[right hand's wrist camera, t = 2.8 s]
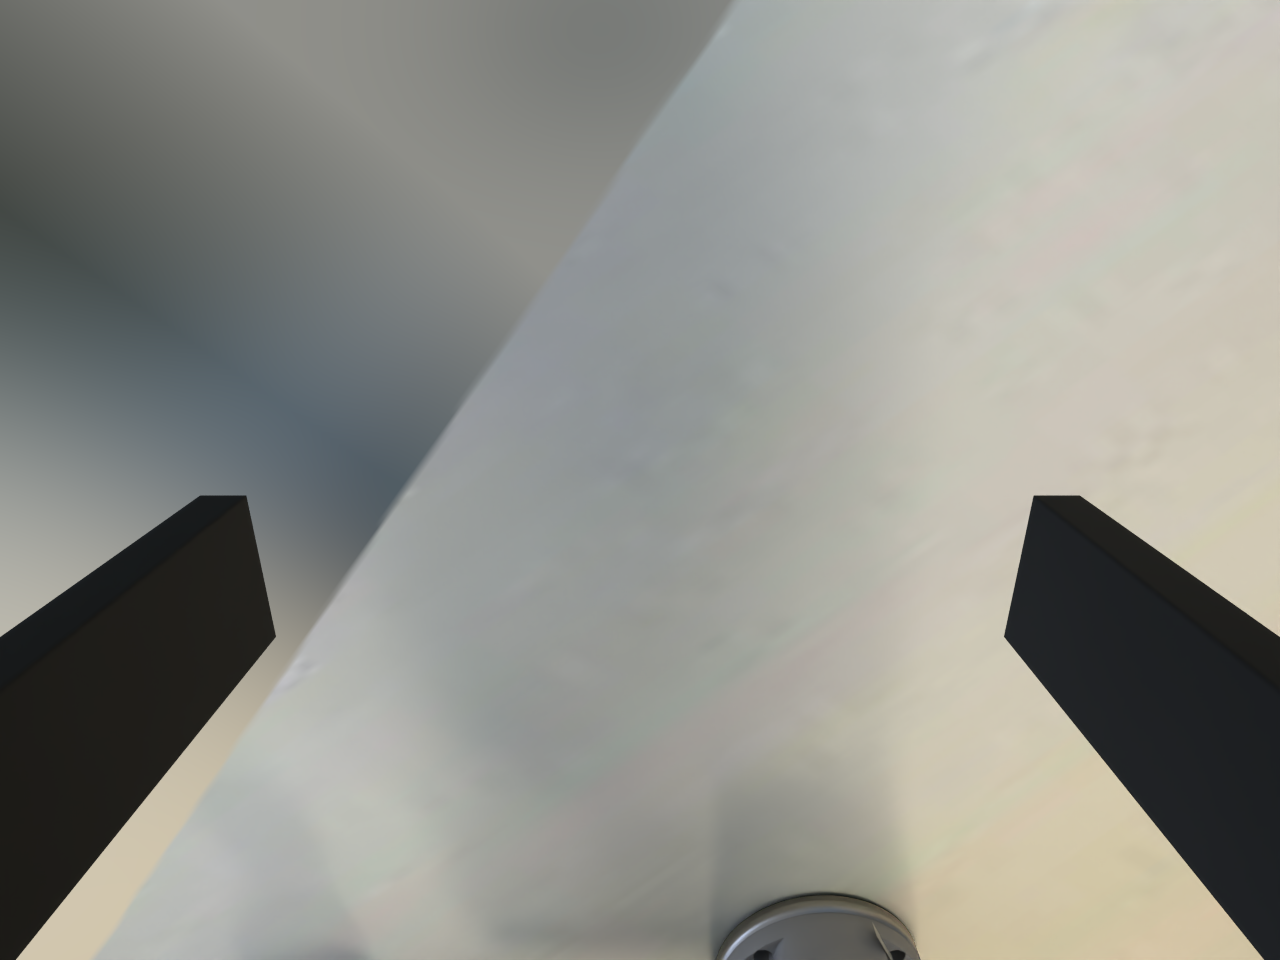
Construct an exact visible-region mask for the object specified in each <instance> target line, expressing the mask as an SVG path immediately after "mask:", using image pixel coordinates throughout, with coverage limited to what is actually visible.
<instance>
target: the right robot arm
mask: <svg viewBox="0 0 1280 960" xmlns="http://www.w3.org/2000/svg"><path fill="white" fill-rule="evenodd" d="M275 637H276V635H275V630H274V625H273V621H272V616H271V611H270V606H269V601H268V597H267V592H266V587H265V582H264V578H263V573H262V568H261V563H260V559H259V554H258V549H257V544H256V540H255V535H254V530H253V525H252V521H251V516H250V511H249V506H248V502H247V497H246V496H199V497H198V498H196V499H195V500H193V501H192V502H191V503H189V504H188V505H186V506H185V507H183V508H182V509H181V510H179V511H178V512H176V513H175V514H174V515H172V516H171V517H169V518H168V519H167V520H165V521H164V522H162V523H161V524H159V525H158V526H157V527H155V528H154V529H152V530H151V531H150V532H148V533H147V534H145V535H144V536H142V537H141V538H140V539H138V540H137V541H135V542H134V543H133V544H131V545H130V546H128V547H127V548H126V549H124V550H123V551H121V552H120V553H119V554H117V555H116V556H114V557H113V558H111V559H110V560H109V561H107V562H106V563H104V564H103V565H102V566H100V567H99V568H97V569H96V570H94V571H93V572H92V573H90V574H89V575H87V576H86V577H84V578H83V579H82V580H80V581H79V582H77V583H76V584H75V585H73V586H72V587H70V588H69V589H68V590H66V591H65V592H63V593H62V594H61V595H59V596H58V597H56V598H55V599H53V600H52V601H51V602H49V603H48V604H46V605H45V606H44V607H42V608H41V609H39V610H38V611H36V612H35V613H34V614H32V615H31V616H29V617H28V618H27V619H25V620H24V621H22V622H21V623H19V624H18V625H17V626H15V627H14V628H13V629H11V630H10V631H8V632H7V633H5V634H4V635H3V636H1V637H0V960H16V959H17V958H18V956H19V955H20V954H21V953H22V951H23V950H24V949H25V948H26V946H27V945H28V944H29V943H30V941H31V940H32V939H33V938H34V936H35V935H36V934H37V933H38V931H39V930H40V929H41V928H42V926H43V925H44V924H45V923H46V921H47V920H48V919H49V918H50V916H51V915H52V914H53V913H54V912H55V910H56V909H57V908H58V907H59V905H60V904H61V903H62V902H63V900H64V899H65V898H66V897H67V895H68V894H69V893H70V892H71V890H72V889H73V888H74V887H75V885H76V884H77V883H78V882H79V881H80V879H81V878H82V877H83V876H84V874H85V873H86V872H87V871H88V869H89V868H90V867H91V866H92V864H93V863H94V862H95V861H96V859H97V858H98V857H99V856H100V854H101V853H102V852H103V851H104V849H105V848H106V847H107V846H108V845H109V843H110V842H111V841H112V840H113V838H114V837H115V836H116V835H117V833H118V832H119V831H120V830H121V828H122V827H123V826H124V825H125V823H126V822H127V821H128V820H129V818H130V817H131V816H132V815H133V813H134V812H135V811H136V810H137V809H138V807H139V806H140V805H141V804H142V802H143V801H144V800H145V799H146V797H147V796H148V795H149V794H150V792H151V791H152V790H153V789H154V787H155V786H156V785H157V784H158V782H159V781H160V780H161V779H162V777H163V776H164V775H165V774H166V773H167V771H168V770H169V769H170V768H171V766H172V765H173V764H174V763H175V761H176V760H177V759H178V758H179V756H180V755H181V754H182V753H183V751H184V750H185V749H186V748H187V746H188V745H189V744H190V743H191V741H192V740H193V739H194V738H195V736H196V735H197V734H198V733H199V732H200V730H201V729H202V728H203V727H204V725H205V724H206V723H207V722H208V720H209V719H210V718H211V717H212V715H213V714H214V713H215V712H216V710H217V709H218V708H219V707H220V705H221V704H222V703H223V702H224V700H225V699H226V698H227V697H228V695H229V694H230V693H231V692H232V691H233V689H234V688H235V687H236V686H237V684H238V683H239V682H240V681H241V679H242V678H243V677H244V676H245V674H246V673H247V672H248V671H249V669H250V668H251V667H252V666H253V664H254V663H255V662H256V661H257V660H258V658H259V657H260V656H261V655H262V653H263V652H264V651H265V650H266V648H267V647H268V646H269V645H270V643H271V642H272V641H273V640H274V638H275ZM1004 637H1005V638H1006V640H1007V641H1008V642H1009V643H1010V645H1011V646H1012V647H1013V648H1014V650H1015V651H1016V652H1017V653H1018V655H1019V656H1020V657H1021V658H1022V660H1023V661H1024V662H1025V663H1026V664H1027V666H1028V667H1029V668H1030V669H1031V671H1032V672H1033V673H1034V674H1035V676H1036V677H1037V678H1038V679H1039V681H1040V682H1041V683H1042V684H1043V686H1044V687H1045V688H1046V689H1047V691H1048V692H1049V693H1050V694H1051V696H1052V697H1053V698H1054V699H1055V700H1056V702H1057V703H1058V704H1059V705H1060V707H1061V708H1062V709H1063V710H1064V712H1065V713H1066V714H1067V715H1068V717H1069V718H1070V719H1071V720H1072V722H1073V723H1074V724H1075V725H1076V727H1077V728H1078V729H1079V730H1080V732H1081V733H1082V734H1083V735H1084V737H1085V738H1086V739H1087V740H1088V741H1089V743H1090V744H1091V745H1092V746H1093V748H1094V749H1095V750H1096V751H1097V753H1098V754H1099V755H1100V756H1101V758H1102V759H1103V760H1104V761H1105V763H1106V764H1107V765H1108V766H1109V768H1110V769H1111V770H1112V771H1113V773H1114V774H1115V775H1116V776H1117V777H1118V779H1119V780H1120V781H1121V782H1122V784H1123V785H1124V786H1125V787H1126V789H1127V790H1128V791H1129V792H1130V794H1131V795H1132V796H1133V797H1134V799H1135V800H1136V801H1137V802H1138V804H1139V805H1140V806H1141V807H1142V809H1143V810H1144V811H1145V812H1146V813H1147V815H1148V816H1149V817H1150V818H1151V820H1152V821H1153V822H1154V823H1155V825H1156V826H1157V827H1158V828H1159V830H1160V831H1161V832H1162V833H1163V835H1164V836H1165V837H1166V838H1167V840H1168V841H1169V842H1170V843H1171V845H1172V846H1173V847H1174V848H1175V849H1176V851H1177V852H1178V853H1179V854H1180V856H1181V857H1182V858H1183V859H1184V861H1185V862H1186V863H1187V864H1188V866H1189V867H1190V868H1191V869H1192V871H1193V872H1194V873H1195V874H1196V876H1197V877H1198V878H1199V879H1200V881H1201V882H1202V883H1203V884H1204V885H1205V887H1206V888H1207V889H1208V890H1209V892H1210V893H1211V894H1212V895H1213V897H1214V898H1215V899H1216V900H1217V902H1218V903H1219V904H1220V905H1221V907H1222V908H1223V909H1224V910H1225V912H1226V913H1227V914H1228V915H1229V917H1230V918H1231V919H1232V920H1233V922H1234V923H1235V924H1236V925H1237V926H1238V928H1239V929H1240V930H1241V931H1242V933H1243V934H1244V935H1245V936H1246V938H1247V939H1248V940H1249V941H1250V943H1251V944H1252V945H1253V946H1254V948H1255V949H1256V950H1257V951H1258V953H1259V954H1260V955H1261V956H1262V958H1263V959H1264V960H1280V637H1279V636H1278V635H1276V634H1275V633H1273V632H1272V631H1270V630H1269V629H1268V628H1266V627H1265V626H1263V625H1262V624H1261V623H1259V622H1258V621H1256V620H1255V619H1253V618H1252V617H1251V616H1249V615H1248V614H1246V613H1245V612H1244V611H1242V610H1241V609H1239V608H1238V607H1237V606H1235V605H1234V604H1232V603H1231V602H1229V601H1228V600H1227V599H1225V598H1224V597H1222V596H1221V595H1220V594H1218V593H1217V592H1215V591H1214V590H1212V589H1211V588H1210V587H1208V586H1207V585H1205V584H1204V583H1203V582H1201V581H1200V580H1198V579H1197V578H1196V577H1194V576H1193V575H1191V574H1190V573H1188V572H1187V571H1186V570H1184V569H1183V568H1181V567H1180V566H1179V565H1177V564H1176V563H1174V562H1173V561H1171V560H1170V559H1169V558H1167V557H1166V556H1164V555H1163V554H1162V553H1160V552H1159V551H1157V550H1156V549H1155V548H1153V547H1152V546H1150V545H1149V544H1147V543H1146V542H1145V541H1143V540H1142V539H1140V538H1139V537H1138V536H1136V535H1135V534H1133V533H1132V532H1130V531H1129V530H1128V529H1126V528H1125V527H1123V526H1122V525H1121V524H1119V523H1118V522H1116V521H1115V520H1114V519H1112V518H1111V517H1109V516H1108V515H1106V514H1105V513H1104V512H1102V511H1101V510H1099V509H1098V508H1097V507H1095V506H1094V505H1092V504H1091V503H1089V502H1088V501H1087V500H1085V499H1084V498H1082V497H1081V496H1034V497H1033V502H1032V506H1031V511H1030V516H1029V521H1028V525H1027V530H1026V535H1025V540H1024V544H1023V549H1022V554H1021V559H1020V563H1019V568H1018V573H1017V578H1016V582H1015V587H1014V592H1013V597H1012V601H1011V606H1010V611H1009V616H1008V620H1007V625H1006V630H1005V635H1004ZM717 960H920V957H919V954H918V951H917V949H916V946H915V943H914V941H913V938H912V936H911V934H910V933H909V931H908V930H907V928H906V927H905V926H904V925H903V924H902V923H901V922H900V921H899V920H898V919H897V918H896V917H895V916H893V915H892V914H890V913H889V912H887V911H886V910H884V909H882V908H880V907H878V906H876V905H874V904H871V903H868V902H866V901H862V900H859V899H855V898H849V897H843V896H832V895H818V896H806V897H800V898H794V899H790V900H786V901H783V902H780V903H777V904H774V905H771V906H769V907H766V908H764V909H762V910H760V911H758V912H756V913H755V914H753V915H752V916H750V917H748V918H747V919H746V920H744V921H743V922H742V923H740V924H739V925H738V926H737V927H736V928H735V929H734V930H733V931H732V932H731V933H730V934H729V936H728V937H727V938H726V940H725V941H724V943H723V945H722V946H721V948H720V951H719V953H718V956H717Z"/></svg>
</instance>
